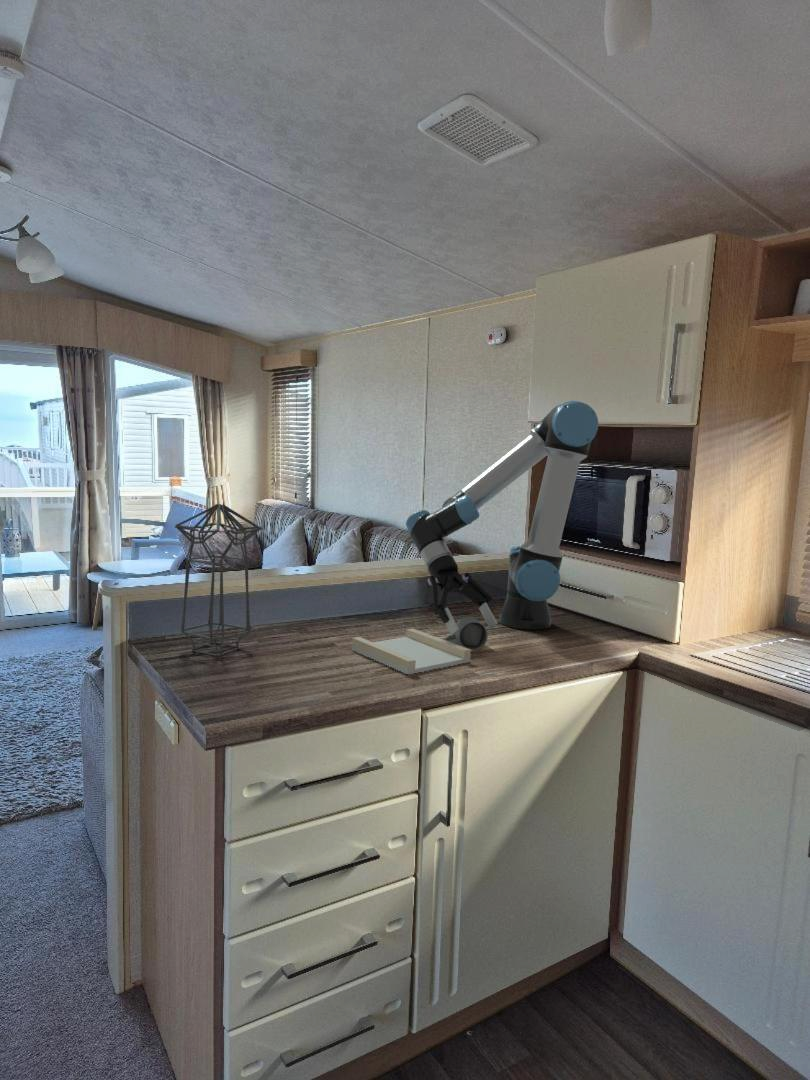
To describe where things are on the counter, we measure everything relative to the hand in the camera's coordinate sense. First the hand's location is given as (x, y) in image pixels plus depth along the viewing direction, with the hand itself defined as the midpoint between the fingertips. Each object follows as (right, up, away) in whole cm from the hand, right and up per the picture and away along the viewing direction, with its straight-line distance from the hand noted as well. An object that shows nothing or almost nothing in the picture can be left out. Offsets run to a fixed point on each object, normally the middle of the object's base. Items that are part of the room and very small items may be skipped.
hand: (474, 629), depth 183 cm
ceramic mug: (-3, -5, +2) cm, 6 cm away
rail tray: (-17, -5, -9) cm, 20 cm away
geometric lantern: (-63, -3, -10) cm, 64 cm away
